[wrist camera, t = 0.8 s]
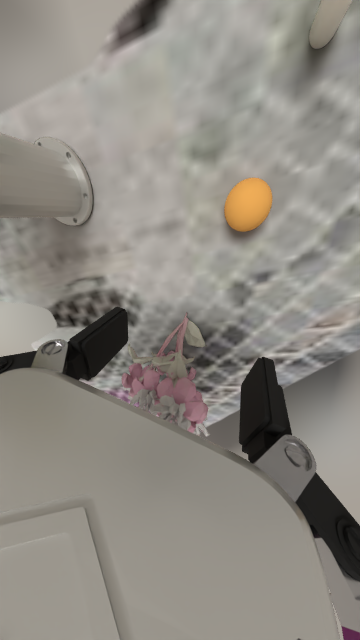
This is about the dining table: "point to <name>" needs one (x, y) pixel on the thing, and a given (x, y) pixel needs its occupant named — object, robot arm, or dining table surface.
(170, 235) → the dining table surface
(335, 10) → the pin
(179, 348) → the flower
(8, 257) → the dining table surface
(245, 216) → the ball
